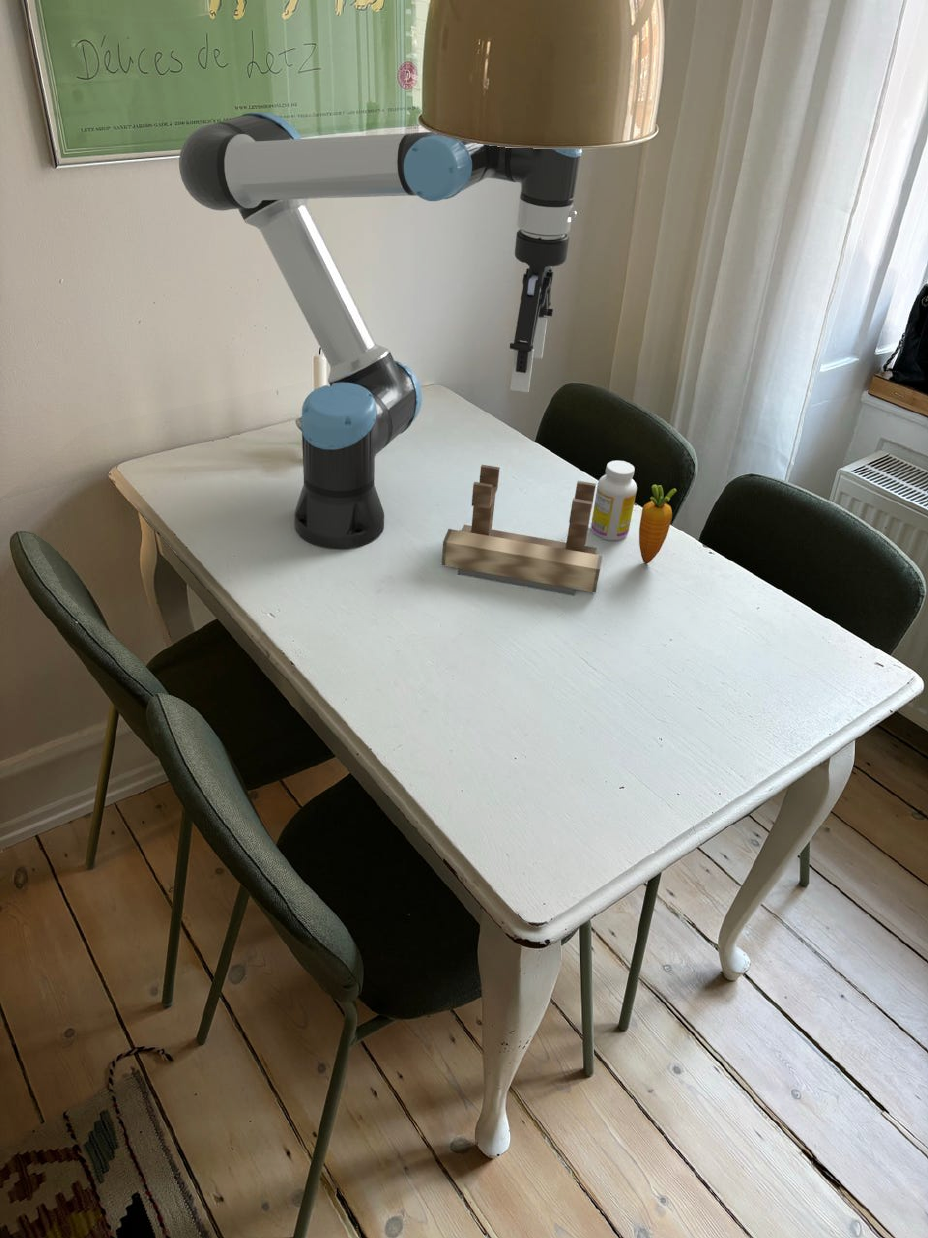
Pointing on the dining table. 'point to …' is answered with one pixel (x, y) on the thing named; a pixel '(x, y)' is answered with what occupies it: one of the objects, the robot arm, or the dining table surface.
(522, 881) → the dining table surface
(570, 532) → the rack
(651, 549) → the carrot
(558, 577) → the rail
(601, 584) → the dining table surface
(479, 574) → the mat
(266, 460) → the dining table surface
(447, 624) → the dining table surface
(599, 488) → the supplement bottle
